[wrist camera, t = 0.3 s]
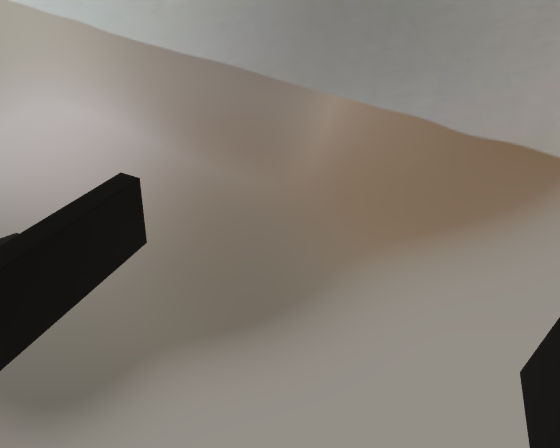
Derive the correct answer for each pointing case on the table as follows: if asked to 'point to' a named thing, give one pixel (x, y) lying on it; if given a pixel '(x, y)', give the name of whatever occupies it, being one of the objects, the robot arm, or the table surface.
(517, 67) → the table surface
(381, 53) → the table surface
